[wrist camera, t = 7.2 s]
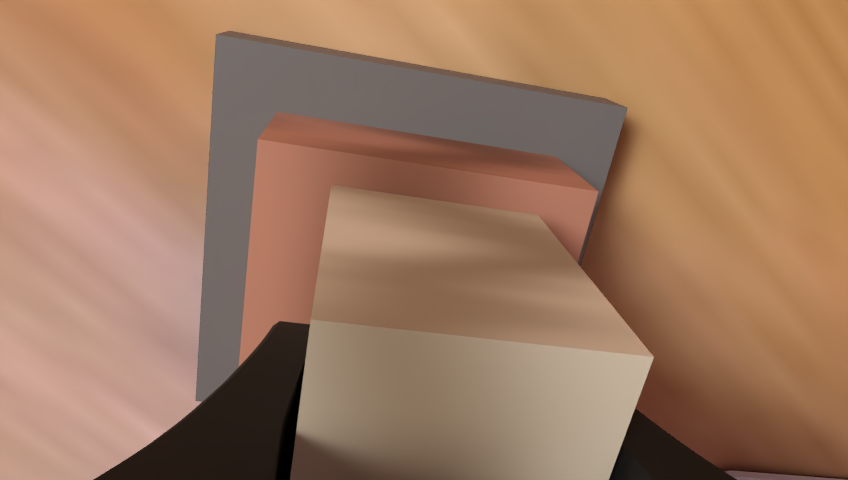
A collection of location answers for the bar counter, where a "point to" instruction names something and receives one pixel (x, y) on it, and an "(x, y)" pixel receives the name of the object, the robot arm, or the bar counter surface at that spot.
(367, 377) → the ash brick
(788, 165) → the bar counter surface
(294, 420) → the robot arm
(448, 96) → the base plate
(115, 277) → the bar counter surface
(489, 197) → the terracotta brick
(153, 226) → the bar counter surface
